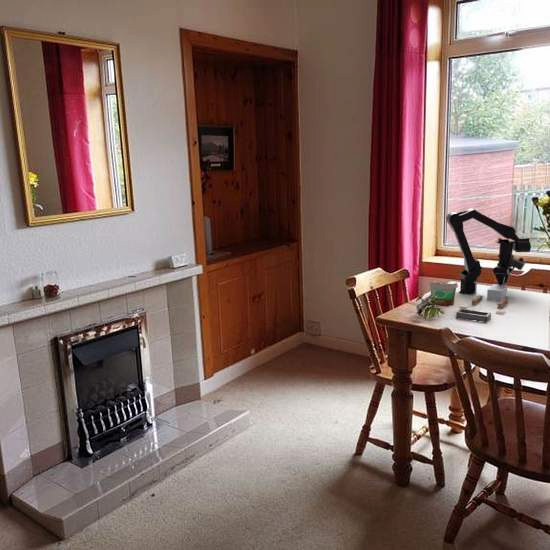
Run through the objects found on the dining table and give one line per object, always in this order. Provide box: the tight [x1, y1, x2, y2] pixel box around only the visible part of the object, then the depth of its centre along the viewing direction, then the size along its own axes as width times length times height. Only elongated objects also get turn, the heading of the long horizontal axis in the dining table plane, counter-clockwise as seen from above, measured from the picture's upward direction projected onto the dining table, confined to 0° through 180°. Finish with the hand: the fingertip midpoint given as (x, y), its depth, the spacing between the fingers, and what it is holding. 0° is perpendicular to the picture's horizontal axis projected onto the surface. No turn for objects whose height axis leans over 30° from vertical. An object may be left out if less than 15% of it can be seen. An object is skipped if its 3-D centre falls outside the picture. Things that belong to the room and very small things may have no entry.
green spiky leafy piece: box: [415, 293, 444, 321], centre depth 227 cm, size 11×11×12 cm
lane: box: [471, 294, 509, 310], centre depth 244 cm, size 12×11×2 cm
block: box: [486, 283, 508, 302], centre depth 254 cm, size 6×12×5 cm, turn 147°
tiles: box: [459, 304, 506, 315], centre depth 234 cm, size 18×3×1 cm, turn 55°
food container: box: [428, 280, 459, 307], centre depth 243 cm, size 12×6×10 cm, turn 71°
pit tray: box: [455, 308, 492, 323], centre depth 224 cm, size 12×6×2 cm, turn 55°
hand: (503, 285), depth 263 cm, fingers open, 9 cm apart
